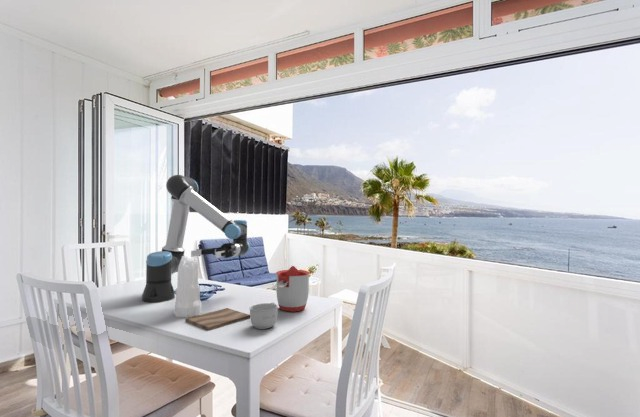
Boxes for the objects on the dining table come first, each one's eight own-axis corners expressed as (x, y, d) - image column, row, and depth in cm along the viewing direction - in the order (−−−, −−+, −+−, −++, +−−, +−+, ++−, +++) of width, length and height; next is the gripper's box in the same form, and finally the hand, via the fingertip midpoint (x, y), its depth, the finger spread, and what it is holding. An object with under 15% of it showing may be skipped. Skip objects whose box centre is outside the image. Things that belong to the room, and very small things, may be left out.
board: (185, 321, 134) (185, 318, 134) (227, 310, 150) (227, 308, 150) (208, 330, 124) (208, 327, 124) (250, 317, 140) (250, 315, 140)
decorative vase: (205, 314, 144) (206, 256, 145) (180, 319, 137) (181, 258, 137) (194, 308, 152) (195, 254, 153) (170, 313, 145) (171, 256, 145)
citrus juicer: (266, 311, 150) (266, 266, 151) (288, 302, 165) (289, 262, 166) (294, 316, 142) (295, 270, 143) (315, 307, 157) (315, 265, 158)
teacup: (264, 333, 122) (265, 311, 122) (243, 327, 128) (243, 307, 128) (287, 323, 134) (287, 303, 134) (267, 318, 140) (267, 299, 140)
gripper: (250, 258, 170) (226, 263, 150) (209, 256, 178) (181, 261, 158) (250, 243, 170) (226, 247, 150) (210, 242, 178) (182, 245, 158)
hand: (203, 254), depth 154 cm, fingers open, 13 cm apart
